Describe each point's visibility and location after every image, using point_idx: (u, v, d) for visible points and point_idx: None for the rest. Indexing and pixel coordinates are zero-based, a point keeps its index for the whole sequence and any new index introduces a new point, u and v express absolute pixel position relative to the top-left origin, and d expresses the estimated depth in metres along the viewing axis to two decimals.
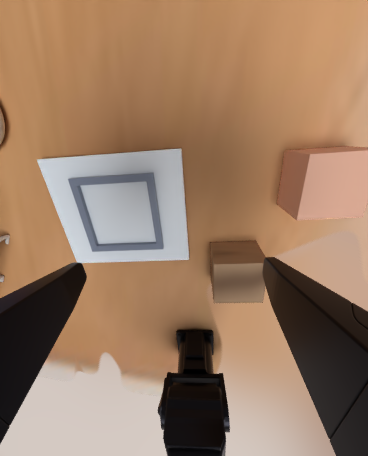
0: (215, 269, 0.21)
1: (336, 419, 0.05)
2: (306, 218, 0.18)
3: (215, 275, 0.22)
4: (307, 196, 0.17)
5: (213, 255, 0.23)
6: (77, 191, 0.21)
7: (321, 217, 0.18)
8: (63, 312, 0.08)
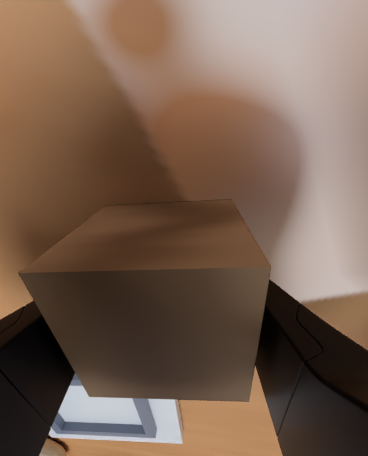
0: (105, 394, 0.07)
1: (280, 417, 0.05)
2: None
3: (127, 395, 0.07)
4: None
5: None
6: (68, 431, 0.17)
7: None
8: None
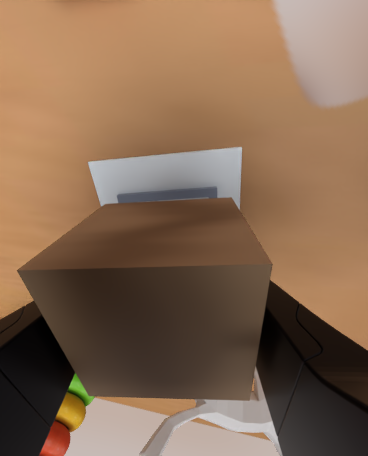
0: (105, 393, 0.07)
1: (280, 417, 0.05)
2: None
3: (127, 394, 0.07)
4: None
5: None
6: None
7: None
8: None
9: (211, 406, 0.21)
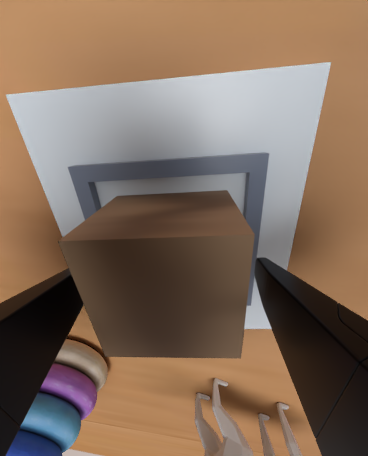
0: (119, 354, 0.08)
1: (321, 419, 0.05)
2: None
3: (138, 354, 0.08)
4: None
5: None
6: None
7: None
8: (71, 312, 0.08)
9: None
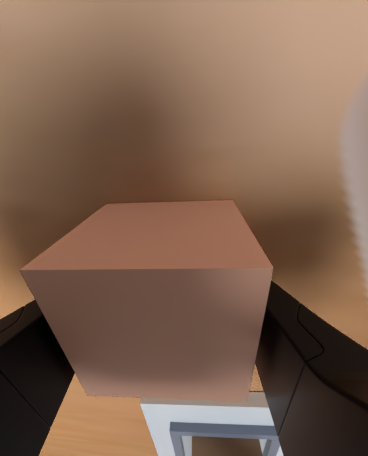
0: None
1: (281, 417, 0.05)
2: (245, 388, 0.06)
3: None
4: (181, 391, 0.07)
5: None
6: None
7: (248, 365, 0.06)
8: None
9: None
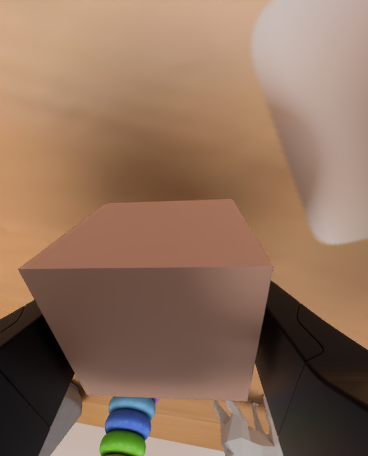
0: None
1: (281, 417, 0.05)
2: (245, 388, 0.06)
3: None
4: (181, 391, 0.07)
5: None
6: None
7: (248, 365, 0.06)
8: None
9: None
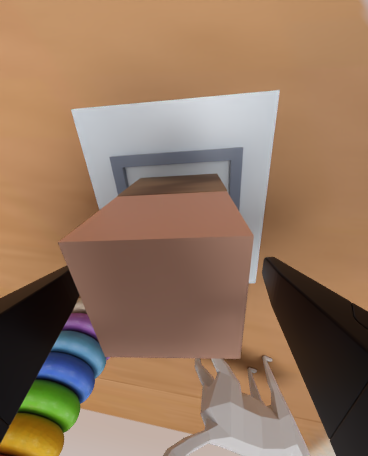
0: None
1: (336, 419, 0.05)
2: (238, 345, 0.08)
3: None
4: (184, 350, 0.08)
5: None
6: None
7: (239, 323, 0.07)
8: (63, 312, 0.08)
9: (224, 429, 0.17)
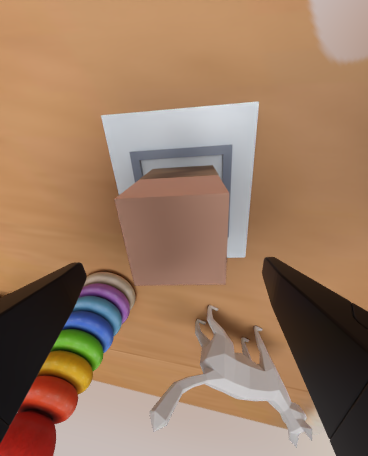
0: None
1: (336, 419, 0.05)
2: (223, 273, 0.12)
3: None
4: (188, 278, 0.12)
5: None
6: None
7: (223, 255, 0.11)
8: (63, 312, 0.08)
9: (218, 373, 0.21)
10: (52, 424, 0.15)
